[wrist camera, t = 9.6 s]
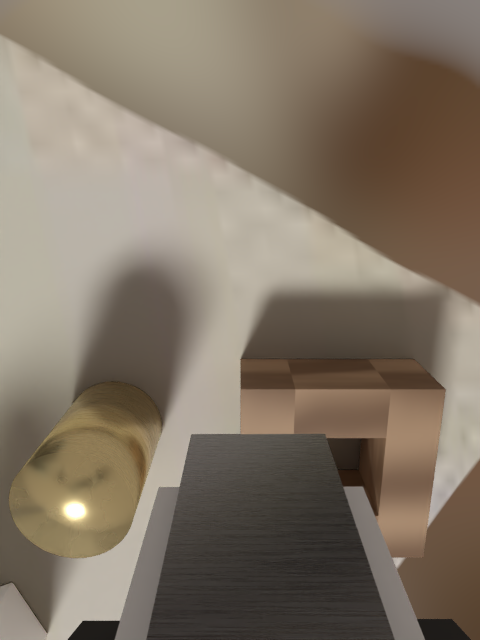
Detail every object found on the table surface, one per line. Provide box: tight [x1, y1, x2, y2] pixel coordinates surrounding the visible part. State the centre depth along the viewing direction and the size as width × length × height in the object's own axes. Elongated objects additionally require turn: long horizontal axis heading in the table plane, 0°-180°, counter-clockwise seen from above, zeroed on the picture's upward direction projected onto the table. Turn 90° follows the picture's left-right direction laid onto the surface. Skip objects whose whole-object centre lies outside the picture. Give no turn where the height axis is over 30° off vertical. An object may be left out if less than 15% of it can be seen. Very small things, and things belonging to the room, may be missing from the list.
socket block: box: [241, 359, 446, 557], centre depth 30 cm, size 12×12×5 cm
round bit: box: [9, 381, 162, 558], centre depth 28 cm, size 7×7×9 cm
